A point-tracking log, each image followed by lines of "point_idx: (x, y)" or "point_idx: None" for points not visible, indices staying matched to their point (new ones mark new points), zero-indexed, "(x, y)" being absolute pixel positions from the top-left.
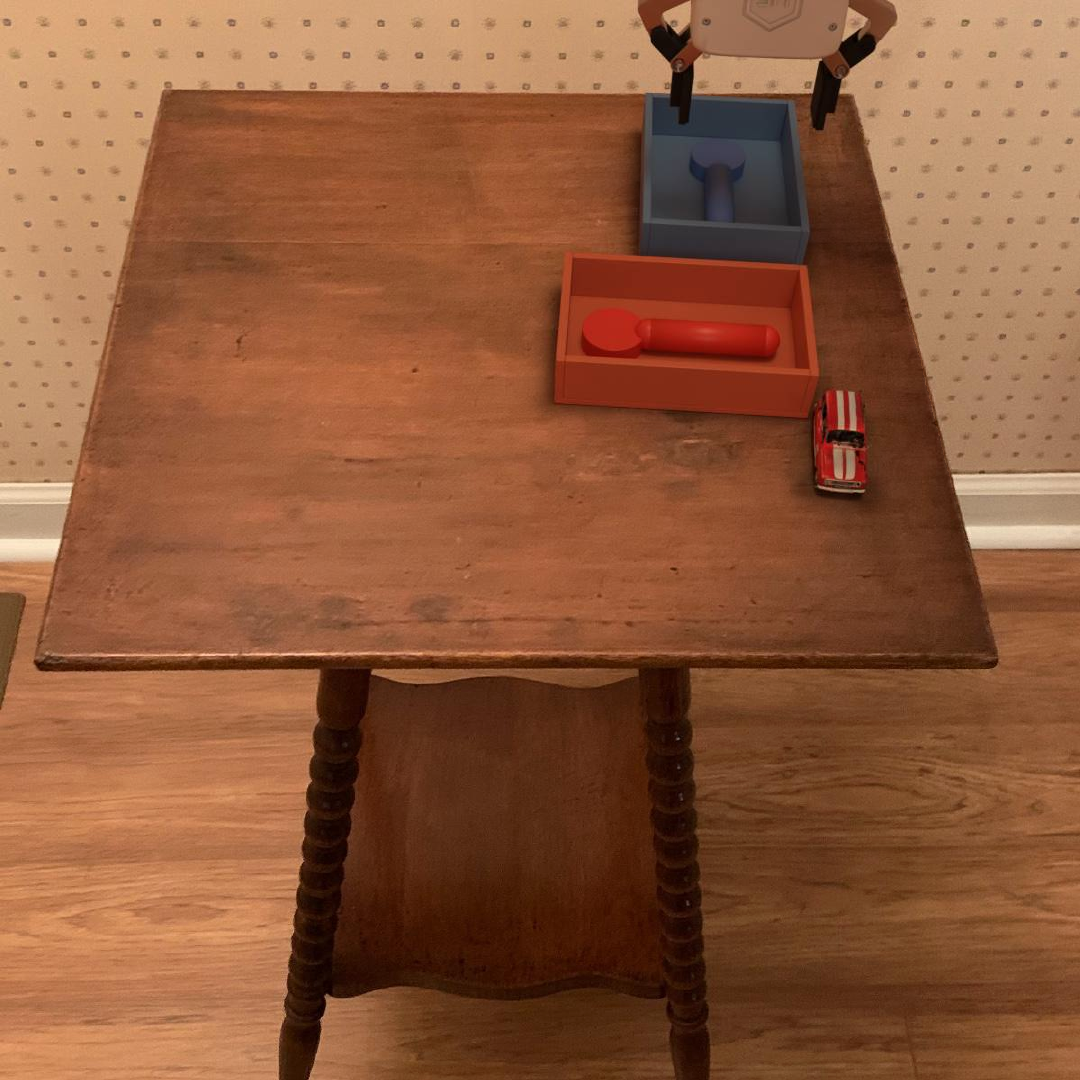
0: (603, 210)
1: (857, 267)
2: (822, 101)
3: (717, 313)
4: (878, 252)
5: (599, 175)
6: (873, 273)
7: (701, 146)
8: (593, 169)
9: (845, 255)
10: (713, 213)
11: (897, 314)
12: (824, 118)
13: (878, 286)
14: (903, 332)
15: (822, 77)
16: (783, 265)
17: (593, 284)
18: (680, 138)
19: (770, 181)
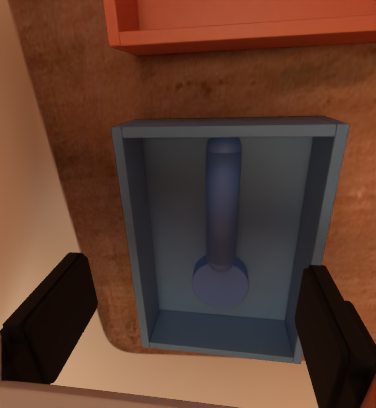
0: (350, 213)
1: (78, 139)
2: (48, 288)
3: (232, 14)
4: (61, 165)
5: (344, 267)
6: (61, 131)
7: (237, 296)
8: (349, 276)
9: (91, 158)
10: (233, 182)
11: (29, 61)
12: (59, 265)
13: (54, 109)
14: (17, 27)
15: (32, 337)
16: (141, 39)
17: None
18: (253, 314)
19: (167, 258)
